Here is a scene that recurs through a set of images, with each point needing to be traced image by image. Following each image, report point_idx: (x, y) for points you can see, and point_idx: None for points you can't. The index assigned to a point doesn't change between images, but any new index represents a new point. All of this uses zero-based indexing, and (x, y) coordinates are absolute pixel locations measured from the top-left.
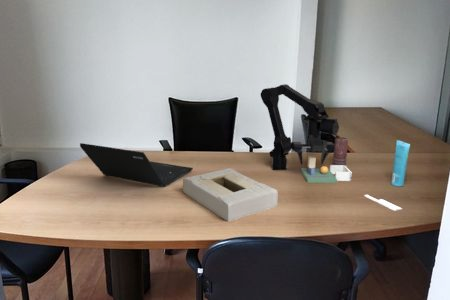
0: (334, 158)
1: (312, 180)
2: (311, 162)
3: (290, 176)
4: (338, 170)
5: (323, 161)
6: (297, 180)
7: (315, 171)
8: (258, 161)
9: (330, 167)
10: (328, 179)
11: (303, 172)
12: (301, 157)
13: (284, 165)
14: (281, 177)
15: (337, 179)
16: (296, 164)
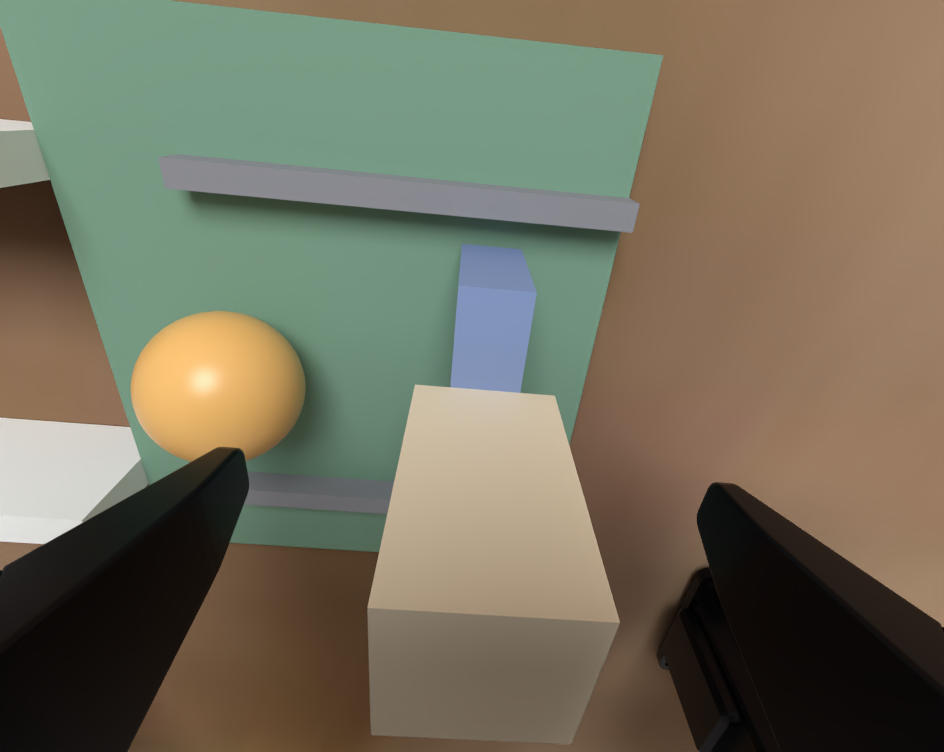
0: None
1: (556, 45)
2: (516, 478)
3: (764, 380)
4: (4, 454)
5: (140, 495)
6: (758, 205)
7: (373, 450)
8: None
9: (103, 497)
10: (196, 11)
11: (573, 426)
12: (921, 651)
13: (722, 632)
14: (920, 352)
15: (25, 124)
16: None
